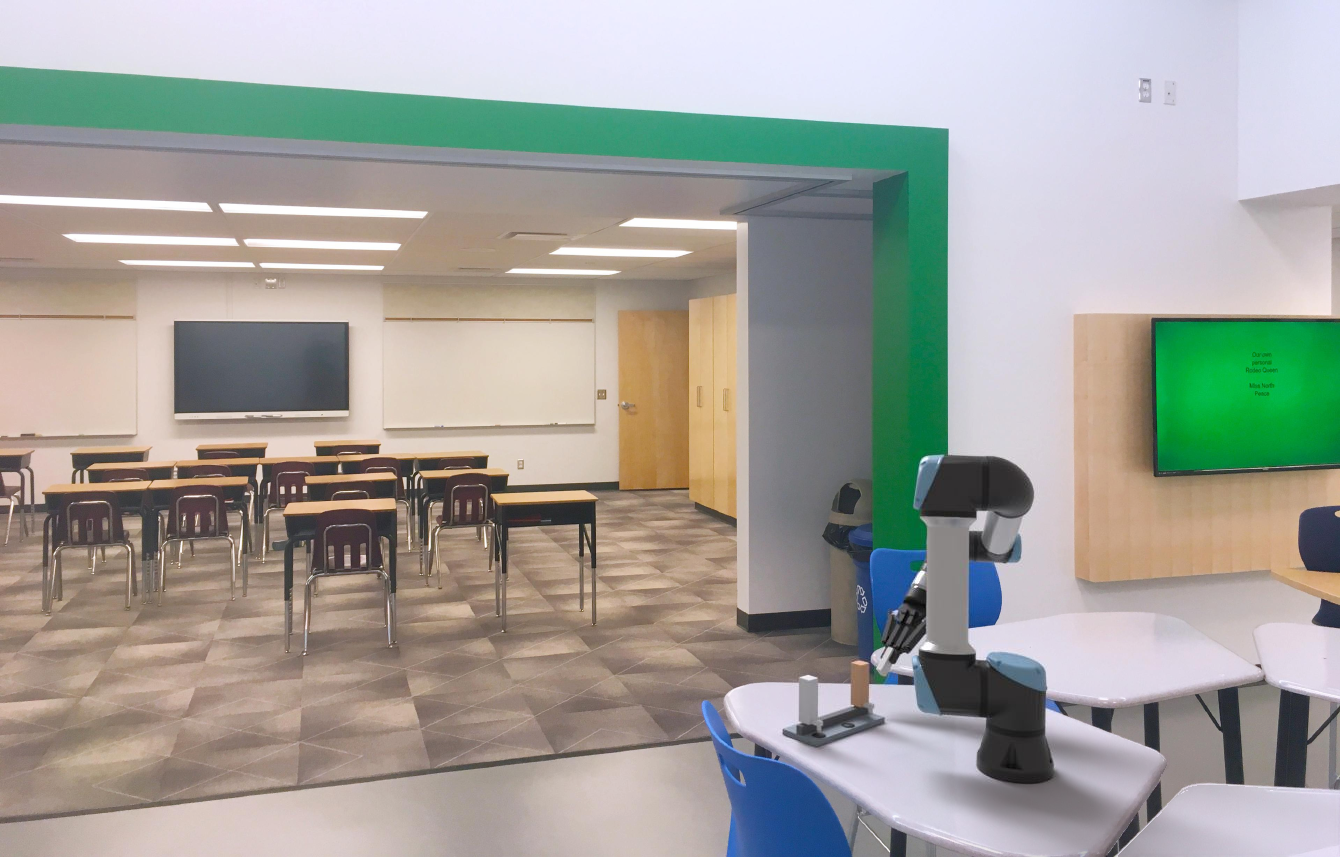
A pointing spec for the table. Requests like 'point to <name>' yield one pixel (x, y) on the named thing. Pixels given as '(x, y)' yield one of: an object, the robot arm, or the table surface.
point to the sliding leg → (860, 685)
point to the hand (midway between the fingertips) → (880, 672)
